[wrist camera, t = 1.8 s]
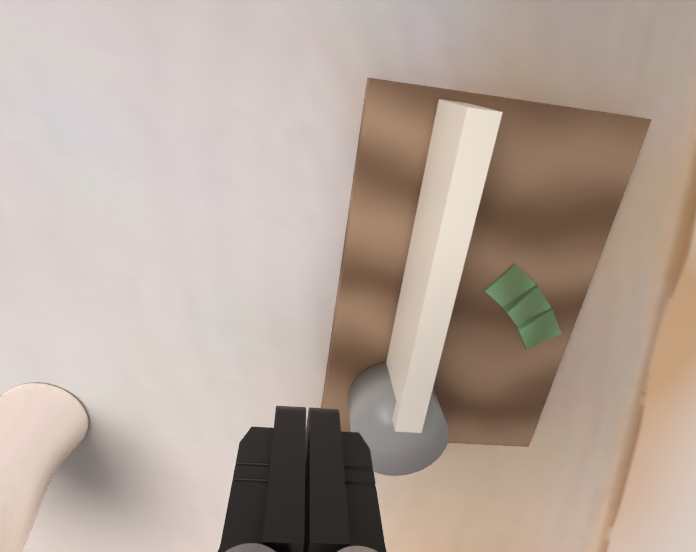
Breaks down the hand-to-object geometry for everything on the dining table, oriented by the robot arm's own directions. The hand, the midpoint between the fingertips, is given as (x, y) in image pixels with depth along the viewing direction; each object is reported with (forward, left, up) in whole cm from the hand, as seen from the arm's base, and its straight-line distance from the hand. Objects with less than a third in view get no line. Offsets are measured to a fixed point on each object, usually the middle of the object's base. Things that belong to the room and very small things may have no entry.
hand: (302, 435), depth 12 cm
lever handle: (+4, +7, -17) cm, 19 cm away
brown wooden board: (+4, +10, -19) cm, 22 cm away
